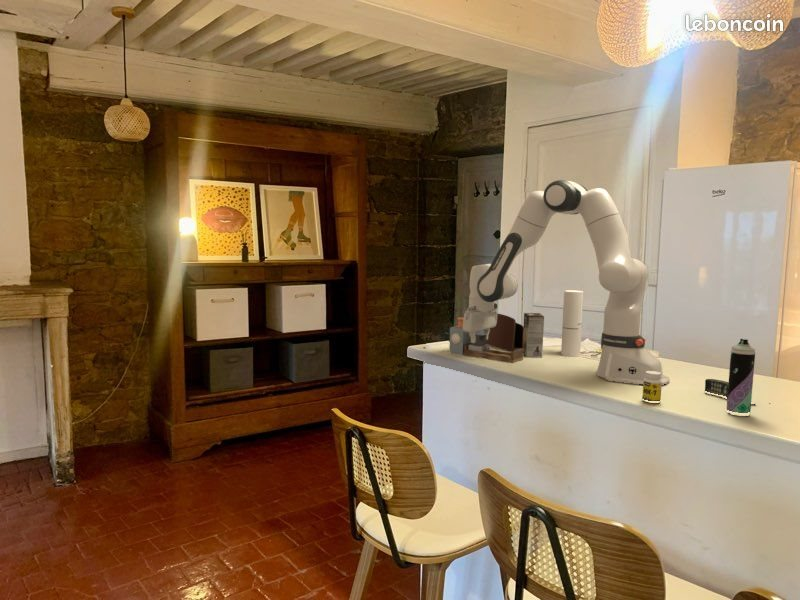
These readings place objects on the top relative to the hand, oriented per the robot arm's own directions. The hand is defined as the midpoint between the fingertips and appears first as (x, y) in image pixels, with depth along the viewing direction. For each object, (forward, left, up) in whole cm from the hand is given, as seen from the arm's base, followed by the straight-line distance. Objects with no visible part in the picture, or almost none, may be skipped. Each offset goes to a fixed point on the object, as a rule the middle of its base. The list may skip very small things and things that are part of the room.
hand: (479, 341), depth 226 cm
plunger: (+8, 0, +2) cm, 8 cm away
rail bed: (-6, 0, -5) cm, 8 cm away
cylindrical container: (-27, -25, -6) cm, 37 cm away
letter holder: (0, -24, -6) cm, 25 cm away
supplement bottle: (-70, +24, -6) cm, 74 cm away
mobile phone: (-86, +6, -6) cm, 87 cm away
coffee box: (-16, -14, -6) cm, 22 cm away
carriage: (0, 0, -4) cm, 4 cm away
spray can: (-91, +21, -6) cm, 93 cm away
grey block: (+8, 0, -5) cm, 10 cm away
